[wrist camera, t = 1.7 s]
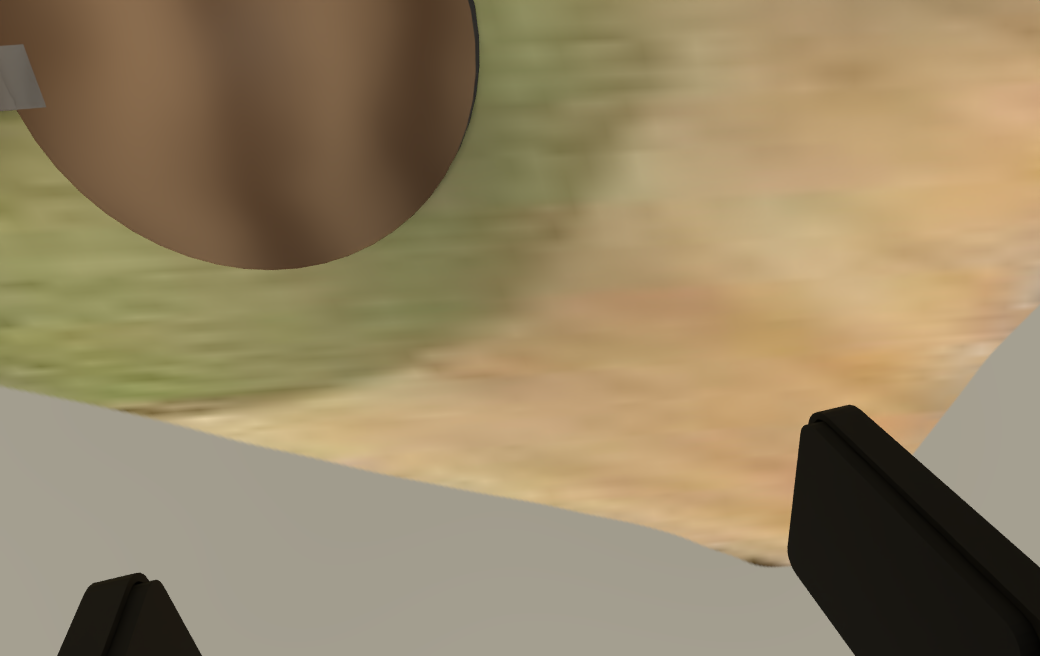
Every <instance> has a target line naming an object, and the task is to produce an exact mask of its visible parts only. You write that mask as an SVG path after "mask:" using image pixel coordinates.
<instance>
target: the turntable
mask: <svg viewBox="0 0 1040 656" xmlns="http://www.w3.org/2000/svg"><path fill="white" fill-rule="evenodd" d="M475 74H476V61H475V37H474V30H473V23H472V15H471V10H470V6H469V2H468V0H0V111H7V110H17V112H18V113H19V115H20V116H21V118H22V120H23V121H24V123H25V125H26V126H27V128H28V129H29V131H30V133H31V134H32V136H33V138H34V139H35V141H36V142H37V143H38V145H39V146H40V147H41V149H42V150H43V151H44V152H45V154H46V155H47V156H48V157H49V159H50V160H51V161H52V163H53V164H54V165H55V166H56V168H57V169H58V170H59V171H60V172H61V173H62V174H63V175H64V176H65V177H66V178H67V179H68V180H69V181H70V182H71V183H72V184H73V185H74V186H75V187H76V188H77V189H78V190H79V191H80V192H81V193H82V194H83V195H84V196H86V197H87V198H88V199H89V200H90V201H92V202H93V203H94V204H95V205H96V206H98V207H99V208H100V209H101V210H102V211H104V212H105V213H106V214H108V215H109V216H111V217H112V218H114V219H115V220H117V221H118V222H120V223H121V224H123V225H124V226H126V227H127V228H129V229H130V230H132V231H133V232H135V233H137V234H139V235H141V236H143V237H145V238H147V239H149V240H151V241H153V242H154V243H156V244H158V245H160V246H163V247H165V248H168V249H170V250H173V251H175V252H178V253H181V254H183V255H186V256H188V257H192V258H195V259H199V260H203V261H206V262H210V263H214V264H218V265H224V266H230V267H237V268H243V269H261V270H279V269H294V268H302V267H308V266H313V265H318V264H324V263H327V262H330V261H333V260H336V259H340V258H343V257H346V256H349V255H351V254H353V253H355V252H358V251H360V250H362V249H364V248H366V247H368V246H371V245H373V244H374V243H376V242H377V241H379V240H380V239H382V238H384V237H385V236H387V235H388V234H390V233H392V232H393V231H394V230H396V229H397V228H398V227H399V226H400V225H402V224H403V223H404V222H405V221H407V220H408V219H409V218H410V217H411V216H413V215H414V213H415V212H416V211H417V210H418V209H419V208H420V207H421V206H422V205H423V204H424V203H425V202H426V201H427V199H428V198H429V197H430V196H431V195H432V193H433V192H434V190H435V189H436V188H437V186H438V185H439V183H440V182H441V181H442V179H443V178H444V176H445V175H446V173H447V171H448V169H449V167H450V165H451V163H452V161H453V159H454V158H455V156H456V154H457V151H458V149H459V146H460V143H461V141H462V138H463V135H464V133H465V130H466V127H467V123H468V119H469V114H470V110H471V106H472V101H473V93H474V83H475Z"/></svg>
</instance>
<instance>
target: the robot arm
mask: <svg viewBox="0 0 1040 656" xmlns="http://www.w3.org/2000/svg"><path fill="white" fill-rule="evenodd" d="M788 557H789V560H790V563H791V566H792V568H793V570H794V571H795V573H796V575H797V576H798V577H799V579H800V580H801V581H802V583H803V584H804V586H805V587H806V588H807V590H808V591H809V593H810V594H811V595H812V597H813V598H814V599H815V601H816V602H817V604H818V605H819V606H820V608H821V609H822V610H823V612H824V613H825V615H826V616H827V617H828V619H829V620H830V622H831V623H832V624H833V626H834V627H835V629H836V630H837V631H838V633H839V634H840V635H841V637H842V638H843V640H844V641H845V642H846V644H847V645H848V646H849V648H850V649H851V650H852V652H853V653H854V655H855V656H1040V567H1039V566H1038V565H1036V564H1035V563H1034V562H1033V561H1032V560H1031V559H1030V558H1029V557H1027V556H1026V555H1025V554H1024V553H1023V552H1022V551H1021V550H1019V549H1018V548H1017V547H1016V546H1015V545H1014V544H1013V543H1011V542H1010V541H1009V540H1008V539H1007V538H1006V537H1005V536H1003V535H1002V534H1001V533H1000V532H999V531H998V530H997V529H996V528H994V527H993V526H992V525H991V524H990V523H989V522H988V521H986V520H985V519H984V518H983V517H982V516H981V515H979V514H978V513H977V512H976V511H975V510H974V509H973V508H972V507H970V506H969V505H968V504H967V503H966V502H965V501H963V500H962V499H961V498H960V497H959V496H958V495H957V494H956V493H955V492H953V491H952V490H951V489H950V488H949V487H948V486H946V485H945V484H944V483H943V482H942V481H941V480H940V479H939V478H937V477H936V476H935V475H934V474H933V473H932V472H931V471H930V470H928V469H927V468H926V467H925V466H924V465H923V464H922V463H920V462H919V461H918V460H917V459H916V458H915V457H914V456H913V455H911V454H910V453H909V452H908V451H907V450H906V449H905V448H903V447H902V446H901V445H900V444H899V443H898V442H897V441H895V440H894V439H893V438H892V437H891V436H890V435H889V434H888V433H886V432H885V431H884V430H883V429H882V428H881V427H880V426H878V425H877V424H876V423H875V422H874V421H873V420H872V419H870V418H869V417H868V416H867V415H866V414H865V413H864V412H863V411H861V410H860V409H859V408H857V407H856V406H853V405H846V406H842V407H837V408H833V409H829V410H825V411H820V412H817V413H814V414H812V416H811V417H810V419H809V423H808V425H804V426H803V427H802V429H801V433H800V442H799V451H798V460H797V469H796V478H795V486H794V495H793V504H792V513H791V522H790V530H789V539H788ZM57 656H202V655H201V653H200V652H199V650H198V648H197V646H196V644H195V642H194V641H193V639H192V637H191V635H190V634H189V631H188V630H187V628H186V626H185V624H184V623H183V621H182V619H181V617H180V615H179V613H178V611H177V610H176V608H175V606H174V604H173V602H172V601H171V599H170V597H169V595H168V593H167V591H166V590H165V588H164V586H163V585H162V583H161V582H160V581H158V580H153V581H149V580H148V579H147V578H146V576H145V575H144V574H142V573H134V574H130V575H126V576H122V577H117V578H113V579H109V580H105V581H101V582H97V583H93V584H92V585H90V586H89V587H88V589H87V590H86V592H85V594H84V596H83V598H82V600H81V602H80V605H79V607H78V609H77V612H76V614H75V616H74V619H73V621H72V623H71V626H70V628H69V630H68V632H67V635H66V637H65V639H64V642H63V644H62V646H61V648H60V651H59V653H58V655H57Z"/></svg>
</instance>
